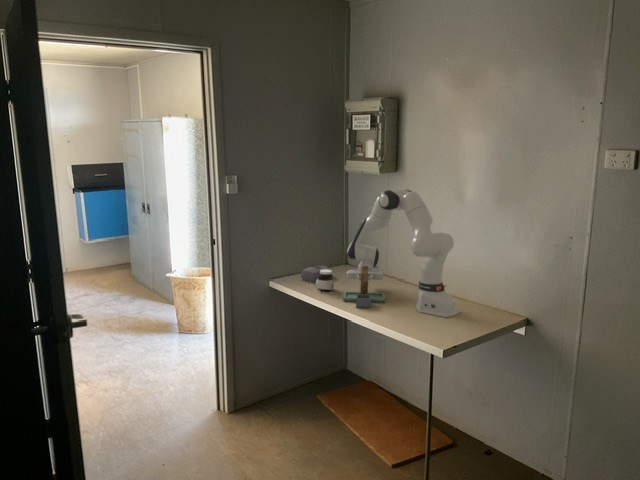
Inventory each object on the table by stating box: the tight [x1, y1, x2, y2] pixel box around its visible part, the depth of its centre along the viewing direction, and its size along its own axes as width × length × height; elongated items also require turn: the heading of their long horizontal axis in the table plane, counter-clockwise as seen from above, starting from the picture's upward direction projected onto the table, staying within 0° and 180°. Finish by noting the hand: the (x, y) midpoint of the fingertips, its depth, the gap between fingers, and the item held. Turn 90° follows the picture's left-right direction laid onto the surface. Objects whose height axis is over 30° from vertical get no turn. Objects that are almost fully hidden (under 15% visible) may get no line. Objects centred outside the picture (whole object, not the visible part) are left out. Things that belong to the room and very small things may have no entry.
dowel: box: [359, 265, 369, 295], centre depth 277 cm, size 4×4×16 cm
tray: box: [342, 291, 386, 304], centre depth 279 cm, size 22×12×2 cm, turn 84°
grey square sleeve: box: [355, 294, 372, 309], centre depth 267 cm, size 8×8×5 cm
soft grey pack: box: [300, 264, 332, 283], centre depth 320 cm, size 15×8×20 cm
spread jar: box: [315, 269, 335, 293], centre depth 296 cm, size 12×11×12 cm
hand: (364, 278), depth 276 cm, fingers closed on dowel, 4 cm apart
